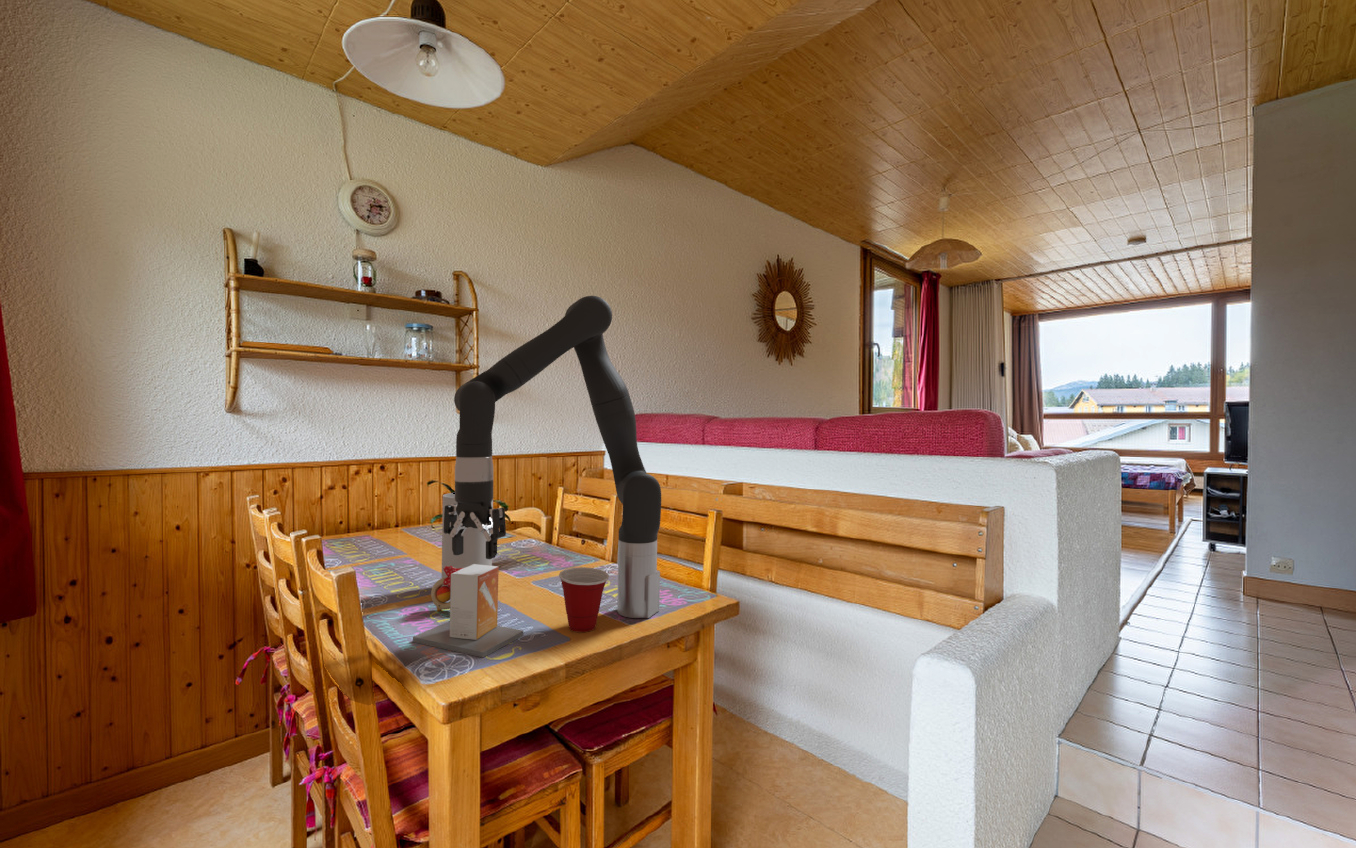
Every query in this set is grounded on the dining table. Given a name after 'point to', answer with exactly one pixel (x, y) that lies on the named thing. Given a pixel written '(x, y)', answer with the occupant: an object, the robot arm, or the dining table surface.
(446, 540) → the cylinder vase
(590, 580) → the plastic cup
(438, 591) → the bird rattle
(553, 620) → the dining table surface
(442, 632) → the slate tile
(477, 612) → the small box
